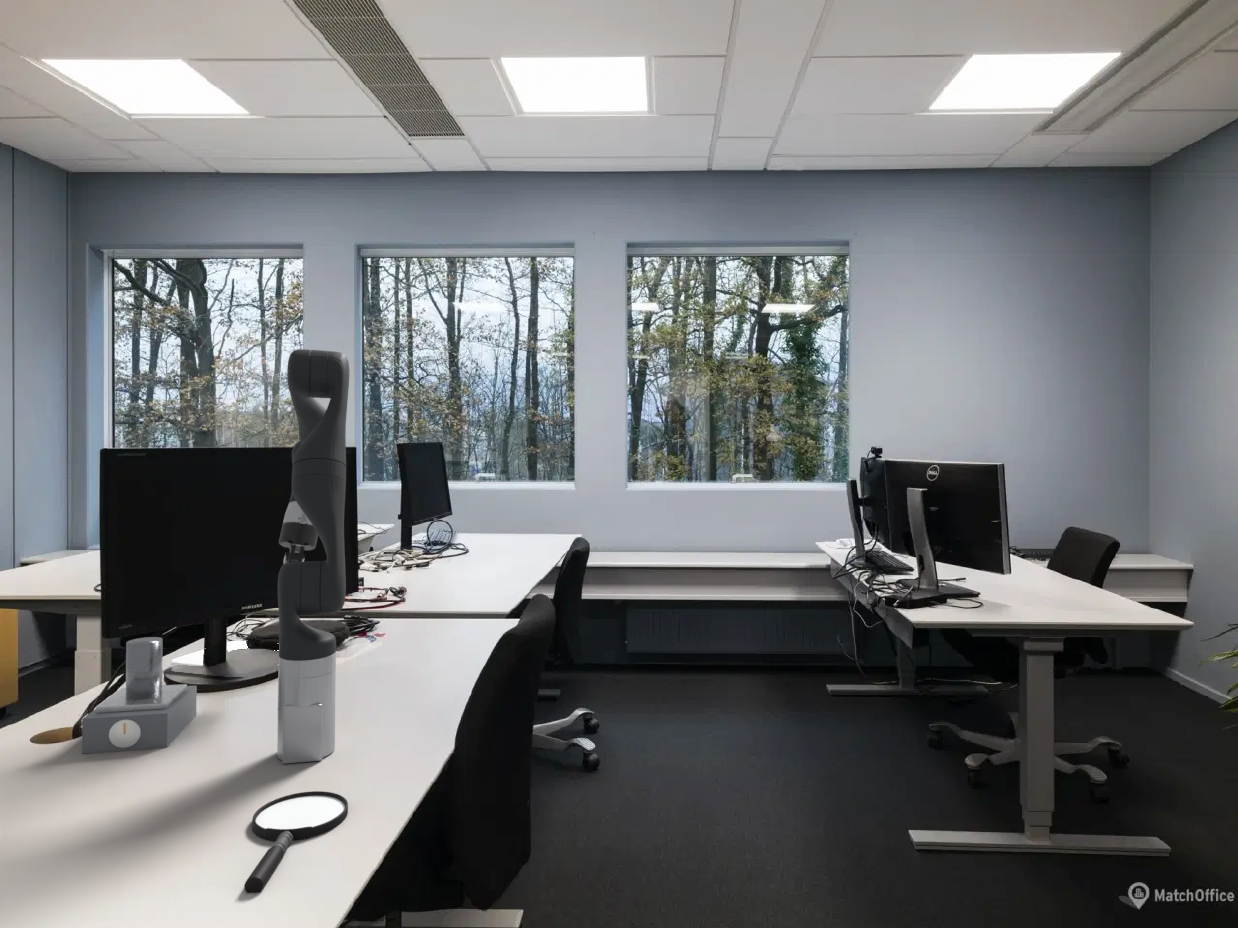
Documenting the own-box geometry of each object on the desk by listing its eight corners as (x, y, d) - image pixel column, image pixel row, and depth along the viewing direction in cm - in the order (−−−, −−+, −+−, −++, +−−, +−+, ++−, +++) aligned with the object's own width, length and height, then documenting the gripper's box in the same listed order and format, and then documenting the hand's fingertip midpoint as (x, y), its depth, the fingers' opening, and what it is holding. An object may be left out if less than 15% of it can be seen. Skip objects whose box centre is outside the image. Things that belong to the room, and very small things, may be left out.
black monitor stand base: (163, 672, 172) (163, 661, 172) (233, 649, 193) (234, 639, 193) (242, 680, 166) (242, 669, 166) (305, 656, 188) (305, 645, 188)
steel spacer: (155, 698, 131) (156, 643, 131) (120, 700, 130) (121, 645, 130) (166, 689, 137) (167, 636, 137) (133, 690, 135) (133, 637, 135)
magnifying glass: (197, 898, 84) (197, 879, 85) (271, 804, 108) (271, 790, 108) (308, 893, 86) (308, 874, 86) (357, 801, 110) (357, 787, 110)
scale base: (166, 748, 127) (166, 714, 127) (80, 754, 123) (81, 719, 123) (196, 715, 143) (196, 685, 143) (121, 720, 139) (121, 689, 139)
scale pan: (166, 708, 129) (166, 702, 129) (95, 712, 126) (95, 707, 126) (186, 689, 140) (186, 684, 140) (122, 692, 137) (122, 687, 137)
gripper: (280, 530, 163) (264, 602, 157) (285, 513, 152) (267, 590, 145) (315, 536, 166) (300, 606, 160) (323, 520, 155) (307, 595, 148)
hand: (285, 598), depth 153 cm, fingers open, 8 cm apart
